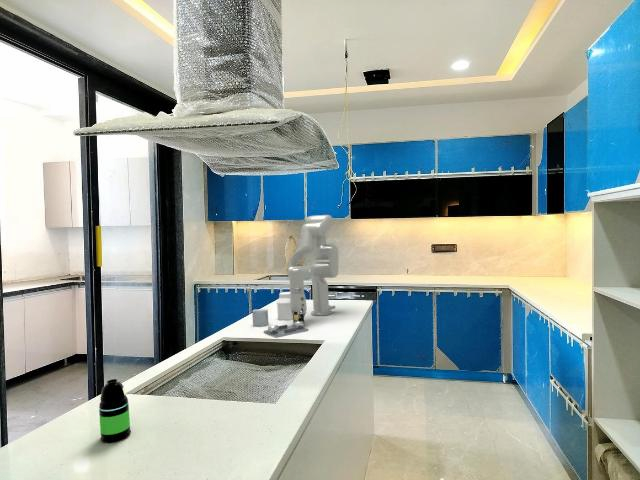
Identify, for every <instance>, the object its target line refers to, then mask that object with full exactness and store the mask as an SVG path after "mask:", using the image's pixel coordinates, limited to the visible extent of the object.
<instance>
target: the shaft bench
mask: <svg viewBox="0 0 640 480" xmlns="http://www.w3.org/2000/svg"><path fill="white" fill-rule="evenodd" d="M304 325H305V322H304V323H303V321H298V322H294V323H293V324H292V325H291V324H290V325H288V324H283V325H282V324H281V325H278V324H275V325H271V326H267V330H263V334H265V335H269V336H270V335H271V337H273V338H281V337H285V336H291V335H294V334H295V335H296V334H299V333H304V332H308V331H309V328H308V327H304Z"/></svg>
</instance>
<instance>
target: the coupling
mask: <svg viewBox="0 0 640 480" xmlns="http://www.w3.org/2000/svg"><path fill="white" fill-rule="evenodd" d="M298 318H299V314H294V322H298V321H299V320H298Z"/></svg>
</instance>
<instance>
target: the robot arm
mask: <svg viewBox="0 0 640 480" xmlns="http://www.w3.org/2000/svg"><path fill="white" fill-rule="evenodd" d="M333 223H334V219H333V217H332V215H330V214H322V215H320V214H319V215H309V216H307V217H306V218H305V219H304V224H303V225H302V226H301V230H300V237H299V241H298V248H297V249H296V250H295V251H294V252H293V254H292V255H291V257H290V259H289V261H288V265H287V266H288V267H287V276H288V279H289V292H290V294H291V295H290V307H291V311H292V315H293V319H292V320H293V321H292V323H293V324H294V314H299V318H298V320H299V321H303V323H304V324H305V316H306V314H307V309H308V308H307V299H306V294H305V286H304V285H305V283H304V281H308V280H310V279H311V286H312V303H313V304H312V305H313V307H312V308H313V310H312V311H311V313H310V314H311V315H312V316H322V317H323V316H328V315H331V314H332V313H333V312H332V310H334V309H336V305H330V301H329V284H328V282H327V280H326V279H327V278H329V279H333V278H334V279H335V278H337V277H338V275H339V249H338V246H337V245H336V244H334V243H327V234H328V233H329V232H330V230H331V229H332V228H333V225H334V224H333ZM311 253H312V257H313V259H314V260H319V261H315V262H313V263H312V264H311V265H310V266H308V265H307V266H304V265H301V266H300V265H299V266H297V265H298V262H299V261H300V260H301V259H302V258H303V257H305V256H307V255H309V254H311ZM320 260H322V261H320ZM324 260H325V261H324Z"/></svg>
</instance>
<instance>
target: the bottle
mask: <svg viewBox="0 0 640 480" xmlns="http://www.w3.org/2000/svg"><path fill="white" fill-rule="evenodd" d="M129 405H130V404H129V399H128V397H127V392H126V389H125V386H124V384H122V382H120V381H118V379H117V378H113V379H108V380H107V381H106V384H105V385H104V386H103V387H102V388H101V394H100V402H99V407H98V409H99V411H98V412H99V426H100V427H99V428H100V429H99V430H100V441H101V442H102V443H104V444H112V443H113V444H114V443H119V442H121V441H124V440H126V439H127V438H128V437H129V436H130V435H131V433H132V430H131V422H130V421H131V419H130V406H129Z"/></svg>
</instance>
